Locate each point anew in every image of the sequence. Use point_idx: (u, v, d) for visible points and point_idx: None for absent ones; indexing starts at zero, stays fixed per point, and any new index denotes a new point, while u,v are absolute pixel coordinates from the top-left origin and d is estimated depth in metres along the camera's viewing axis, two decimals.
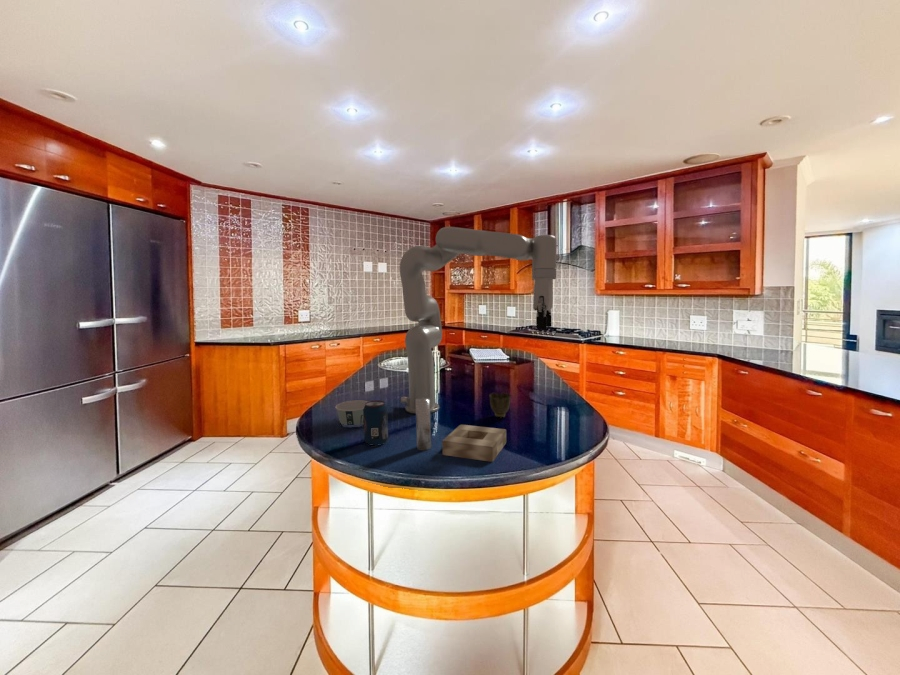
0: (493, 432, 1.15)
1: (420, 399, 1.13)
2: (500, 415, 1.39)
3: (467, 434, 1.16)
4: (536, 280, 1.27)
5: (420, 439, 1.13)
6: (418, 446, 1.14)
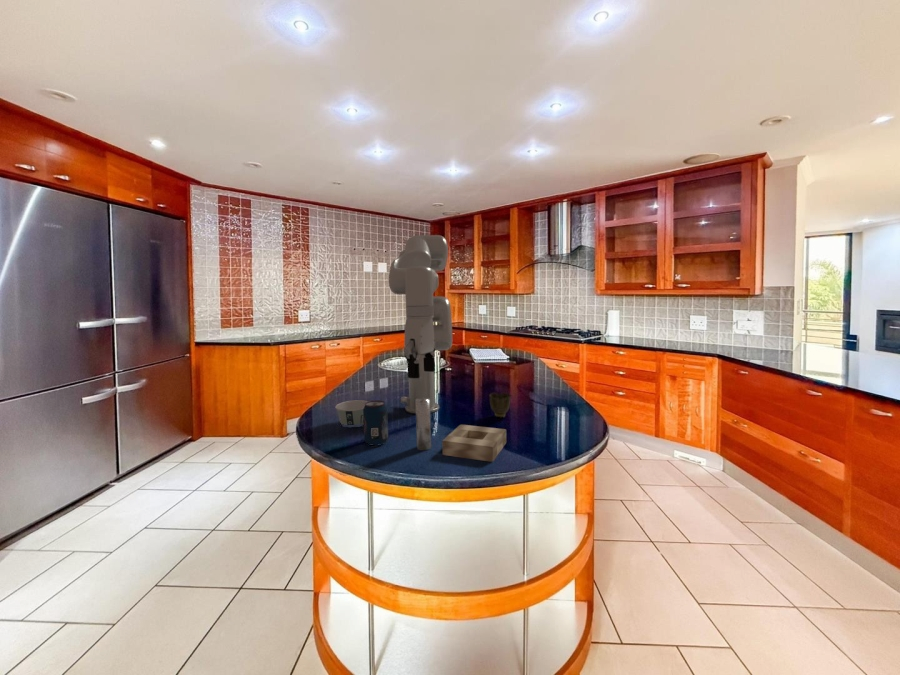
0: (493, 432, 1.15)
1: (420, 399, 1.13)
2: (500, 415, 1.39)
3: (467, 434, 1.16)
4: (407, 320, 1.07)
5: (420, 439, 1.13)
6: (418, 446, 1.14)
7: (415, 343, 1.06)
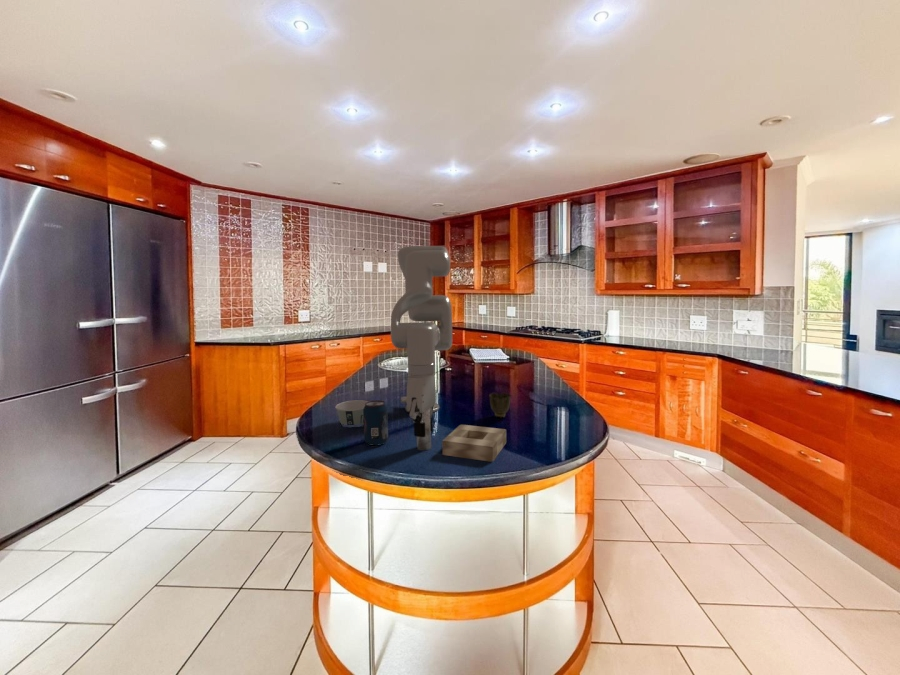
0: (493, 432, 1.15)
1: None
2: (500, 415, 1.39)
3: (467, 434, 1.16)
4: (409, 378, 1.09)
5: (420, 439, 1.13)
6: (418, 446, 1.14)
7: (417, 402, 1.08)
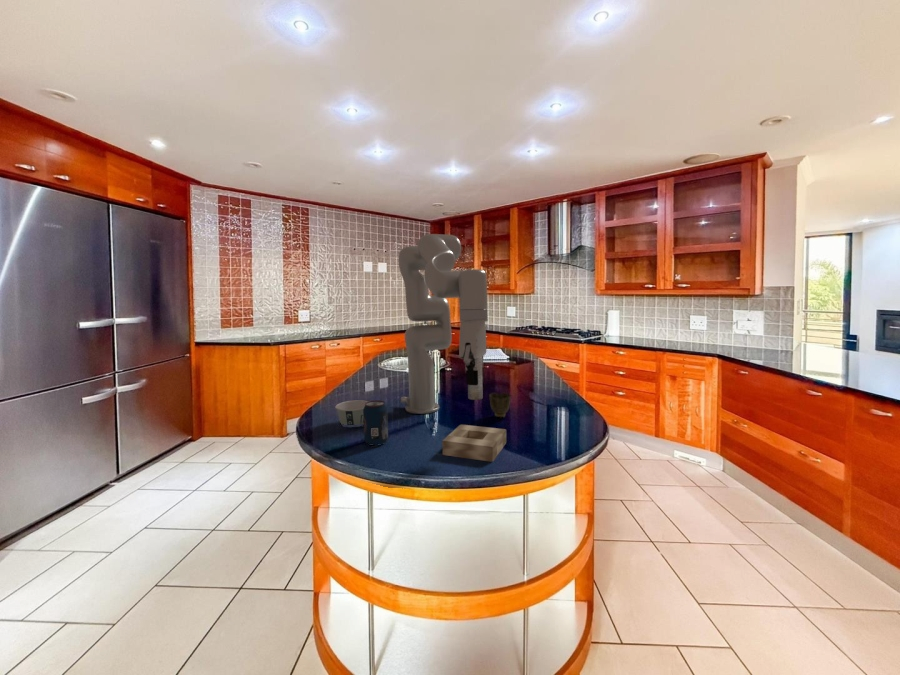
0: (493, 432, 1.15)
1: None
2: (500, 415, 1.39)
3: (467, 434, 1.16)
4: (462, 323, 1.06)
5: (472, 388, 1.09)
6: (470, 395, 1.10)
7: (471, 347, 1.05)
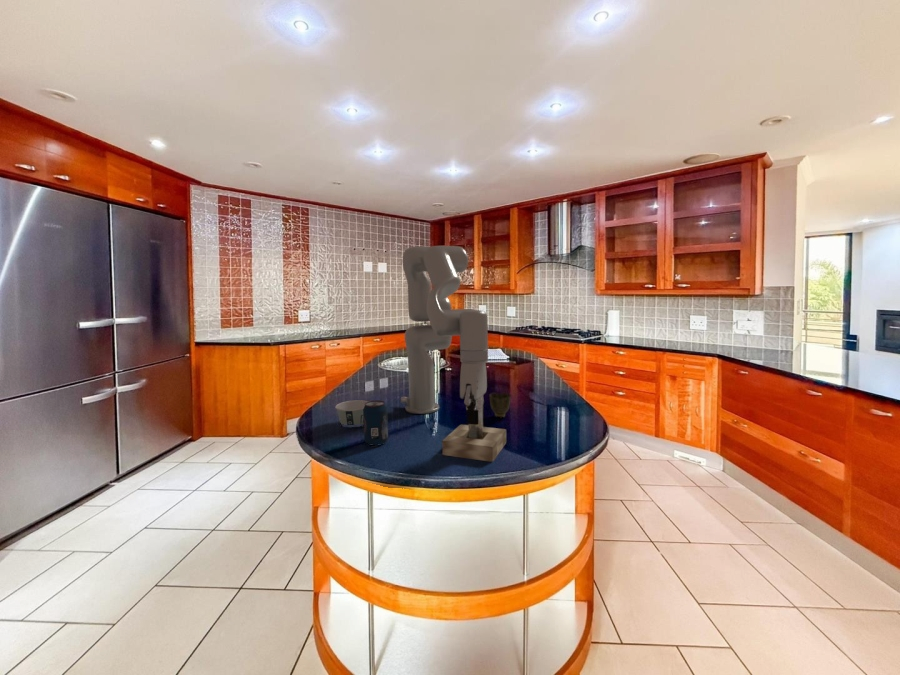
0: (493, 432, 1.15)
1: None
2: (500, 415, 1.39)
3: (467, 434, 1.16)
4: (462, 364, 1.07)
5: (473, 427, 1.11)
6: (470, 434, 1.11)
7: (471, 388, 1.06)
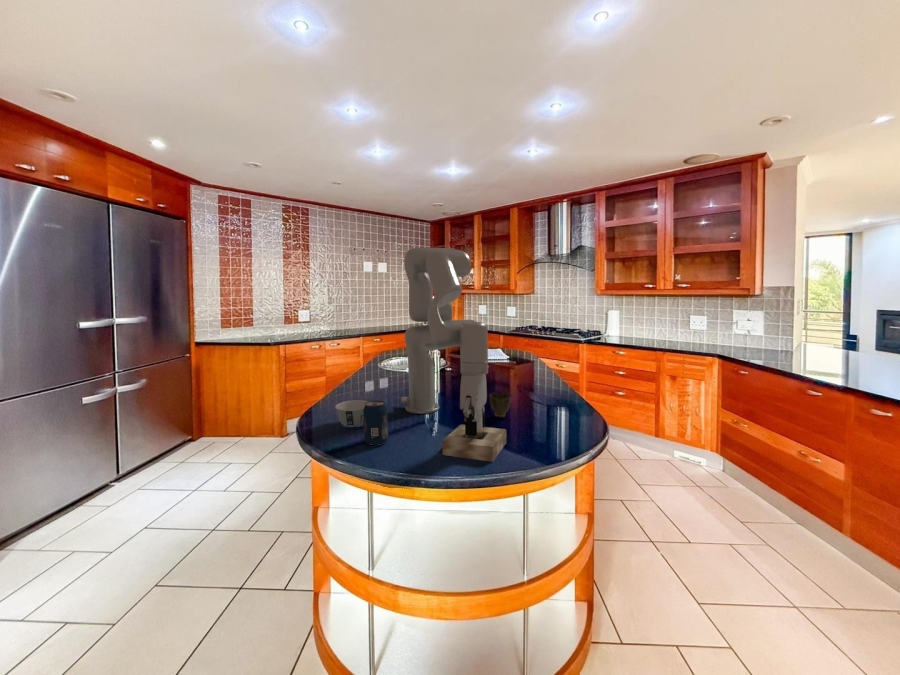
0: (493, 432, 1.15)
1: None
2: (500, 415, 1.39)
3: None
4: (463, 376, 1.08)
5: None
6: None
7: (471, 400, 1.07)
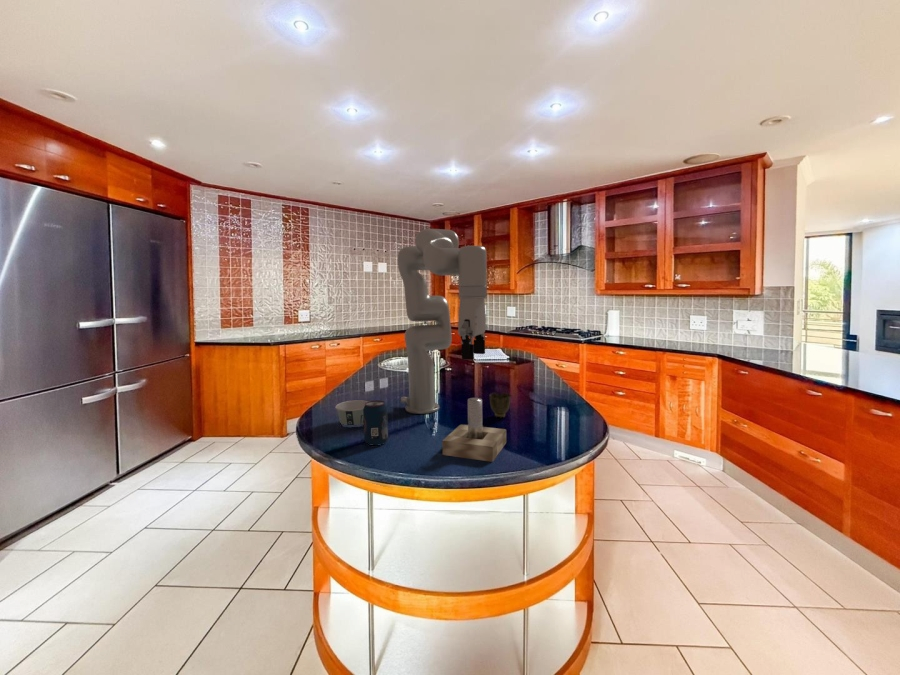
0: (493, 432, 1.15)
1: (472, 399, 1.12)
2: (500, 415, 1.39)
3: (467, 434, 1.16)
4: (461, 300, 1.05)
5: None
6: None
7: (470, 324, 1.05)
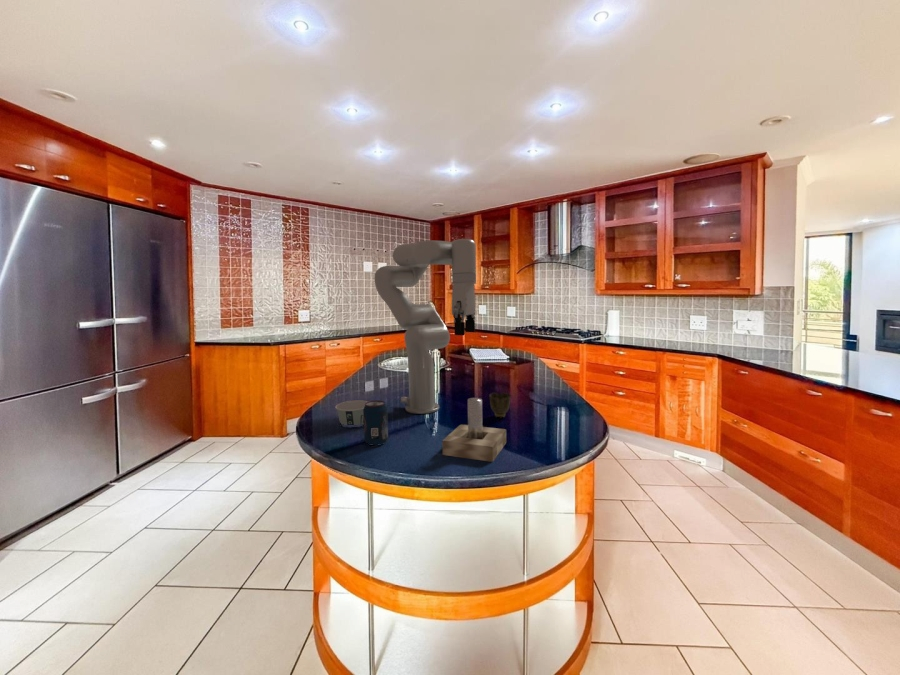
0: (493, 432, 1.15)
1: (472, 399, 1.12)
2: (500, 415, 1.39)
3: (467, 434, 1.16)
4: (454, 285, 1.25)
5: None
6: None
7: (461, 305, 1.24)
